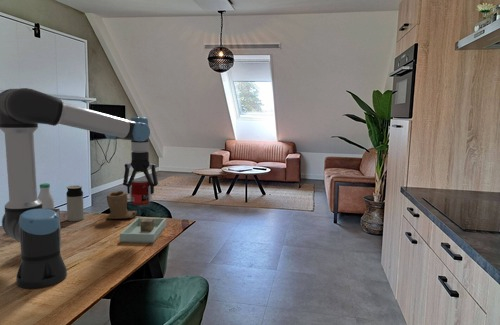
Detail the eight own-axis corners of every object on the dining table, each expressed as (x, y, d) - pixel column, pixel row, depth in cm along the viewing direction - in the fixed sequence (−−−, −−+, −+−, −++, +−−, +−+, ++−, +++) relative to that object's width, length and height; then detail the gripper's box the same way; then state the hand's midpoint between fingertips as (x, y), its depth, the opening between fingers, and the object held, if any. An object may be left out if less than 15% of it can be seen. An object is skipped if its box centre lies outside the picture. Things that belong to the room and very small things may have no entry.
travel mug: (83, 220, 197) (82, 187, 194) (66, 222, 194) (65, 188, 191) (84, 216, 204) (83, 184, 202) (68, 218, 201) (66, 185, 199)
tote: (153, 243, 165) (153, 234, 165) (119, 242, 165) (119, 233, 165) (166, 225, 191) (166, 218, 191) (137, 225, 191) (137, 217, 190)
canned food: (145, 205, 166) (144, 181, 164) (128, 204, 167) (128, 180, 166) (152, 202, 173) (152, 178, 172) (137, 200, 175) (136, 177, 173)
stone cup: (103, 221, 196) (103, 193, 194) (109, 215, 208) (108, 189, 206) (133, 221, 198) (132, 193, 196) (137, 215, 210) (137, 189, 208)
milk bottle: (57, 221, 195) (56, 183, 192) (43, 224, 188) (41, 186, 186) (49, 218, 199) (47, 182, 197) (34, 222, 193) (32, 184, 190)
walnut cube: (140, 231, 179) (140, 221, 178) (143, 228, 184) (143, 218, 183) (150, 231, 179) (150, 221, 178) (153, 228, 184) (153, 218, 183)
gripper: (164, 151, 171) (165, 199, 174) (119, 150, 171) (121, 198, 174) (161, 152, 163) (161, 203, 166) (114, 151, 163) (115, 202, 166)
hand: (140, 200), depth 170 cm, fingers closed on canned food, 8 cm apart
